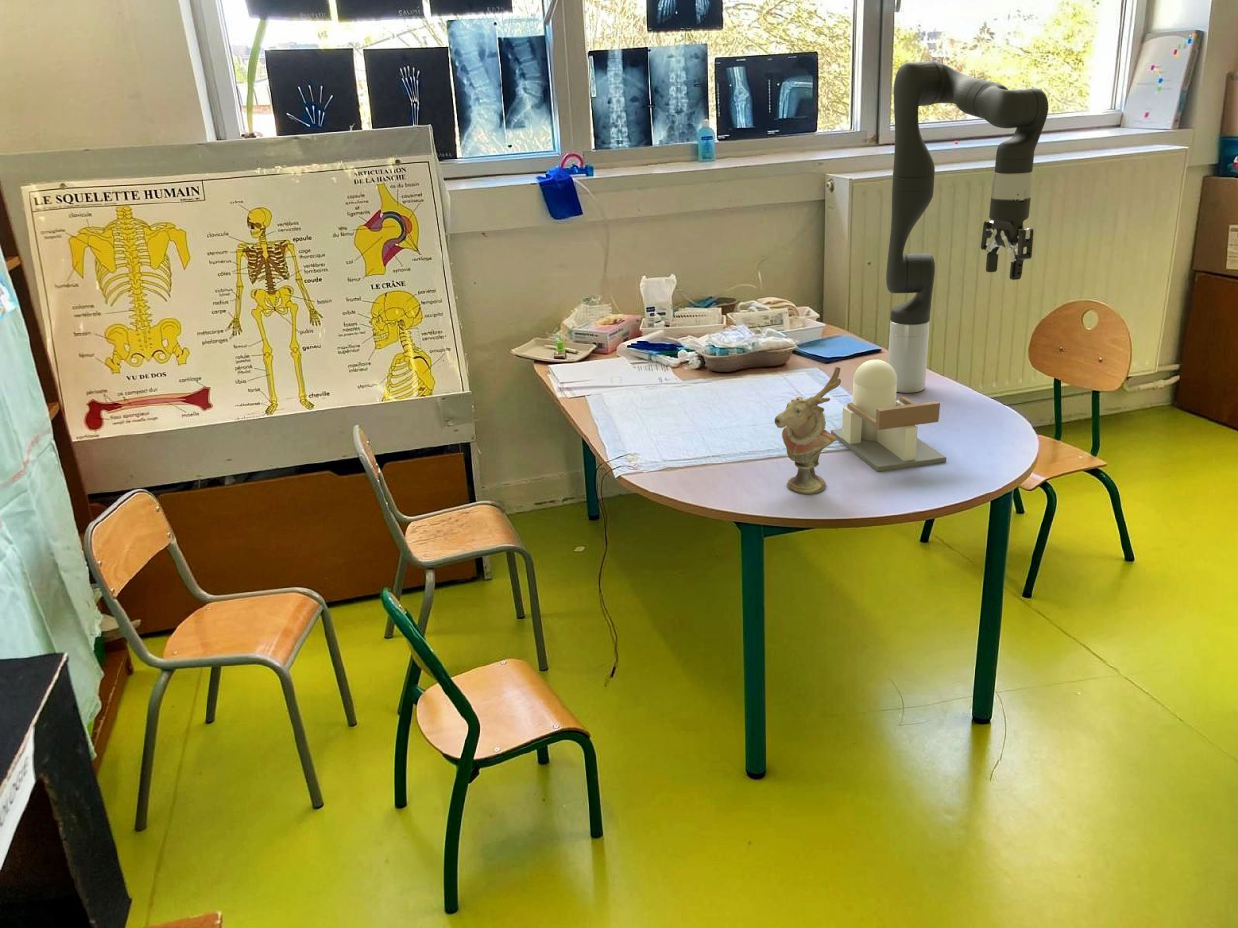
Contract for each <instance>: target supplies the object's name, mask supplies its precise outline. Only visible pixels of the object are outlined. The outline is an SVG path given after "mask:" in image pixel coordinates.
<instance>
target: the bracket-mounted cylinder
mask: <svg viewBox="0 0 1238 928" xmlns="http://www.w3.org/2000/svg"><path fill="white" fill-rule="evenodd" d="M852 379H853V382H852V383H853V385H852V403H853V404H854V405H856V406H857V407H859V408H860V409H862V410H863V411H864V412H866V413H867V414H869V415H870V416H872V417H873V418H875V419H876V409H879V408H886V407H894V406H901V405H905V404H903V403H902V402H900V401H899V399H898V400H897V392H896V390H897V375H896V372H895V370H894V369H893V367H892V366H891V365H890V364H888V363H887V361H884V360H881V359H869V360H867V361H864V362H863V363H862V364H860V365H859V366H858V368H857V369H856V371H855V372H854V374H853V378H852ZM830 434H832V435H834V436H835V437H836V441H839V442H840V443H841V444H842V445H844V446H845V447H846V448H847V449H848V450H850V451H851V452H852V453H853V454H855V455H856V456H857V457H859V459H861V460H862V461H864V462H865V463H866V464H868V465H869V466H870V467H871V468H872V469H873V470H875V471H876V472H883V471H889V470H890V471H891V470H898V469H905V468H912V467H918V466H926V465H932V464H939V463H941V464H942V463H946V462H947V457H946V456H945V455H944V454H943V453H940V452H939V451H938V450H936V449H935V448H934V447H932V446H930V445H929V444H927V443H926V442H925V441H923V440H922V439H920V438H918V425H912V426H905V427H898V428H890V429H883V430H878V429H877V428H875V427H874V426H872V425H871V424H870V423H868V422H867V421H865V420H864V419H862V418H861V417H860V416H858V415H857V414H855V413H854V412H853V411H851V410H850V409H848V408H847V406H843V407H842V428H836V429H831V430H830Z"/></svg>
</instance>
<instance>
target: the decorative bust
mask: <svg viewBox="0 0 1238 928" xmlns="http://www.w3.org/2000/svg"><path fill="white" fill-rule="evenodd" d="M840 372H841V367H837V366H836V367H835V368H834V371H833V373H832V376H831V377H830V379H829V380H828V381H827V383H826V384H825V385H824V387H823V388H822V389H821V390H820V391H819V392H817V394H816V395H814V396H810V397H808V398H806V399H804V398H803V397H802V396H797V397H795V398H793V399H791V400H790V402H787V404H786V408H785V409H784V411H781V412H780V413H779V414H777V415H776V416H775V417H774V425H775V426H776V427H777V428H778V429H782V431H781V438H782V440H783V444H784V446H785V449H786V455H787V457H788V458H789V460H791V462H792V461H793V462H794V465H795V467H796V468H797V473H796V475H794V476H792V477H791V478H789V479H788V480H787V482H786V486H787V488H788V489H789V490H790V491H792V492H795V493H797V494H802V495H813V494H818V493H821V492H822V491H824V490H825V488H826V487H827V485H826V481H825V479H824V478H823V477H822V476H820V475H818V474H816V470H815V468H816V467H818V466H819V465H820V462H819V460H820V456H821V453H822V451H823V450H824V449H826V448H827V447H828V446H830V445H831V444H833V443H834V442H836V441H837V439H836V437H835V436H834V435H832V434H831V432H829V431H828V430H826V429H825V428H826V423H827V422H826V417H825V414H824V413H825V408H824V407H823V406H820V405H822V404H823V403H827V402H830V400H831V398H830V397H824V396H826V395H827V394H828V393H830V392H831V391H833V390H835V389H836V388H838V387H839V386H840V385H841V383H842V380H841V378H839V377H840ZM819 404H820V405H819Z"/></svg>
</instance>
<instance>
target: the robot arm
mask: <svg viewBox="0 0 1238 928" xmlns="http://www.w3.org/2000/svg"><path fill="white" fill-rule="evenodd" d="M893 82H894V83H893V116H894V155H893V158H894V159H893V170H892V182H891V183H892V186H891V221H890V222H891V224H890V233H889V234H890V235H889V243H888V244H889V245H888V254H887V262H886V263H887V264H886V272H885V273H886V277H885V279H886V282H885V283H886V288H887V291H888V292H889V293H891V294H915V295H914V296H913V297H912V298H911V299H910V300H908V301H906V302H903V303H901V304H899V305H895V306H894V307H893V308H892V309H891V311H890V317H889V318H890V320H889V338H888V348H887V358H886V359H887V360H886V362H887V363H888V364H890V365H891V366H892V367H893V369H894V370H895V372H896V375H897V390H896V393H904V394H905V393H906V394H910V393H918V392H921V391H923V390H925V388H926V378H927V376H926V375H927V364H928V351H929V347H928V346H929V335H930V334H929V333H930V321H931V311H932V297H933V292H934V291H933V290H934V283H935V274H936V263H935V258H934V256H933V255H932V254H931V253H928V252H927V253H924V252H923V253H904V250H905V248H906V247H905V246H906V243H907V241H908V238H909V236H910V234H911V232H912V230H913V228H914V227H915V225H916V223H917V222H918V221H919V220H920V218H921V217H922V215H923V214H924V213H925V211H926V209H927V208H928V206H930V205H929V204H930V203H931V201H932V199H933V196H934V188H935V187H934V186H935V176H936V175H935V174H936V173H935V171H936V168H935V162H934V160H933V158H932V155H931V153H930V151H929V149H928V147H927V145H926V144H925V142H924V141H925V140H924V139H923V137H922V134H921V131H920V124H919V108H920V107H925V106H932V105H936V104H953V105H955V106H956V107H957V108H958V110H960V111H961V112H963V113H965V114H967V115H969V116H972V117H976V118H979V119H983V120H985V121H986V122H987V123H989V124H990V125H991V126H993V127H996V128H1000V129H1015V131H1014V134H1013V135H1012V137H1011V138H1009V139H1007V140H1005V141H1003V142H1001V143H999V144H998V146H997V149H996V155H995V164H994V175H993V179H992V183H991V193H990V201H989V202H990V203H989V214H988V215H989V216H988V218H989V219H990V220H989V221H988V220H986V221H984V222H983V226H982V234H981V241H980V249H981V250H982V251H984V252H985V254H986V263H985V271H986V273H996V272H997V271H998V266H999V264H998V263H999V254H998V253H999V252H1000V250H1001V248H1002V247H1003V248H1005V249H1006V252H1007V253H1009V255H1010V259H1011V261H1010V267H1009V279H1010V280H1012V281H1016V280H1020V279H1021V278H1022V274H1023V268H1024V267H1023V265H1024V261H1026V260H1029V259H1030V260H1031V258H1032V255H1033V246H1034V245H1033V244H1034V243H1033V242H1034V231H1035V230H1034V228H1031V227H1030V228H1024V222H1025V221H1026V220H1028V219H1029V217H1030V212H1031V211H1030V210H1031V199H1032V190H1033V169H1034V168H1033V167H1034V158H1035V151H1036V147H1037V145H1038V142H1039V140H1040V138H1041V134H1042V132H1043V129H1044V126H1045V123H1046V121H1047V117H1048V114H1049V101H1048V97H1047V94H1046V93H1045V92H1044V90H1042V89H1040V88H1036V87H1034V88H1033V87H1032V88H1022V89H1008V88H1007V87H1006V86H1005V85H1003V84H1002V83H1000V82H994V81H991V80H986V79H981V78H976V77H973V76H969V75H966V74H964V73H962V72H960V71H958V70H955V69H954V68H953V67H951V66H950V65H947V64H945V63H942V62H940V61H936V60H929V61H928V60H926V61H925V60H924V61H910V62H905V63H903V64H901V65H900V66H899V67H898V69H897V71H896V74H895V78H894V81H893ZM988 239H989V240H988ZM1025 248H1026V249H1025ZM1024 249H1025V250H1026V251H1025V250H1024ZM1016 252H1017V253H1016Z"/></svg>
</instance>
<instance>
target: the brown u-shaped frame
mask: <svg viewBox="0 0 1238 928" xmlns="http://www.w3.org/2000/svg"><path fill="white" fill-rule="evenodd" d="M898 400H899V401H900V402H902V403H903V404H905V405H901V406H894V407H886V408H879V409H876V419H875V418H873V417H872V416H870V415H869V414H867V413H866V412H864V411H863V410H862V409H860V408H859V407H857V406H856V405H854V404H853V402H848V403H846V407H847V408H848V409H850V410H851V411H853V412H854V413H855V414H857V415H858V416H860V417H861V418H862V419H864V420H865V421H867V422H868V423H870V424H871V425H872V426H874V427H875V428H877V429H878V430H883V429H890V428H898V427H905V426H912V425H915V426H919V425H925V424H926V425H927V424H932V423H933V424H934V423H939V420H940V407H941V406H940V405H941V402H939V401H938V400H933V401H925V402H919V403H916V402H914V401H913V400H911V399H909V398H908V397H906V396H905V395H900V396H898Z"/></svg>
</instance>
